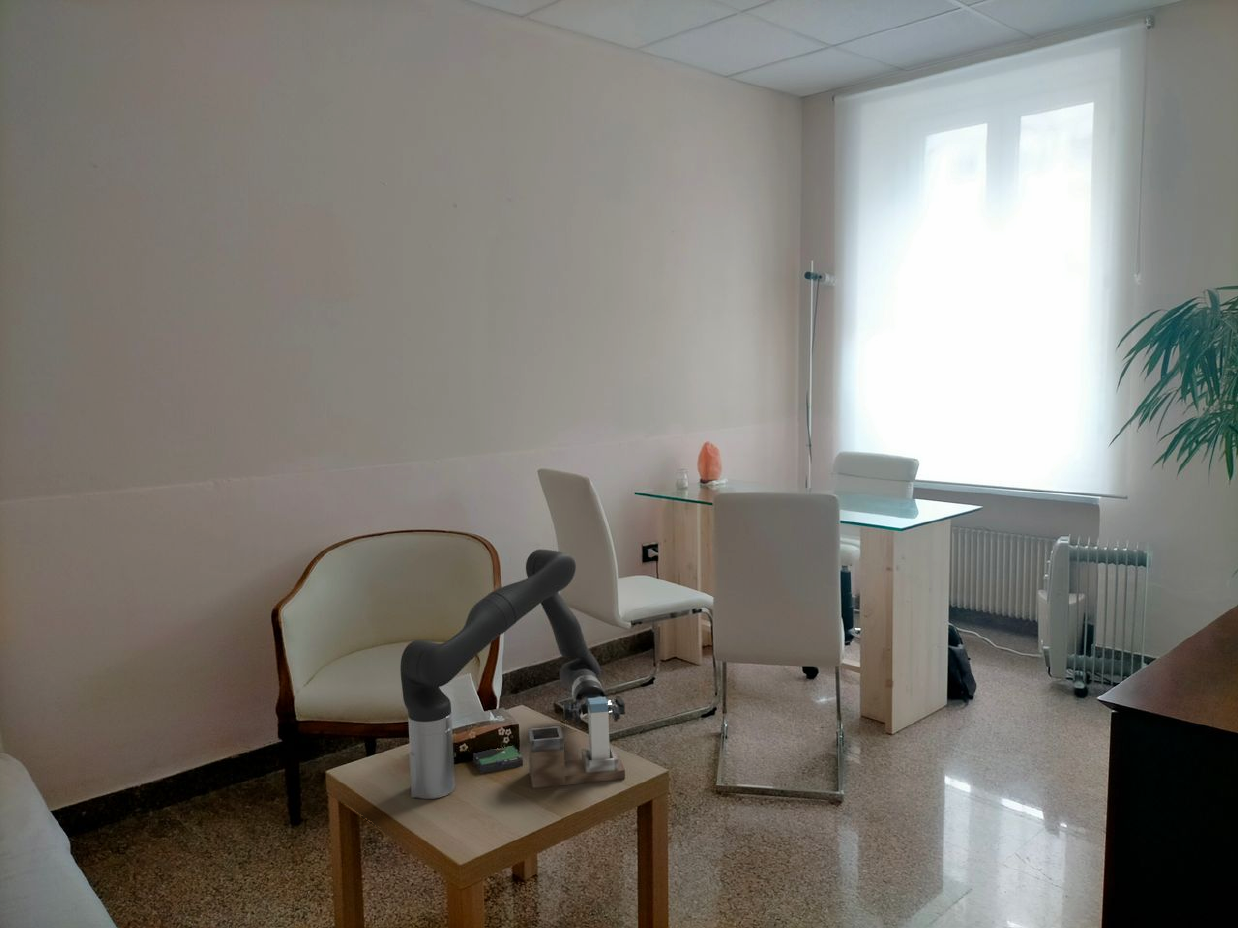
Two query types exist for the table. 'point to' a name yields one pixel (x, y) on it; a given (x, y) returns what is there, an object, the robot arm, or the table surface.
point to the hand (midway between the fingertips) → (597, 719)
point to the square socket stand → (566, 762)
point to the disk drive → (497, 759)
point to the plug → (598, 728)
